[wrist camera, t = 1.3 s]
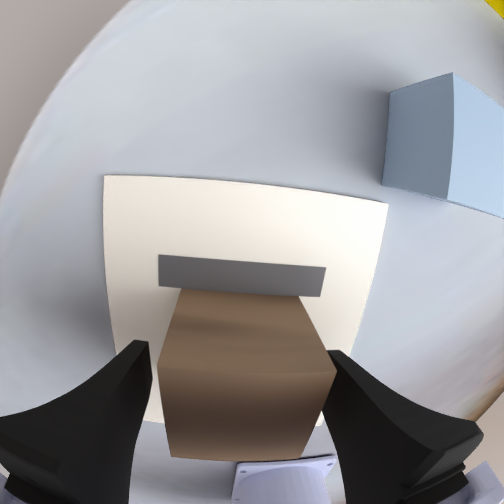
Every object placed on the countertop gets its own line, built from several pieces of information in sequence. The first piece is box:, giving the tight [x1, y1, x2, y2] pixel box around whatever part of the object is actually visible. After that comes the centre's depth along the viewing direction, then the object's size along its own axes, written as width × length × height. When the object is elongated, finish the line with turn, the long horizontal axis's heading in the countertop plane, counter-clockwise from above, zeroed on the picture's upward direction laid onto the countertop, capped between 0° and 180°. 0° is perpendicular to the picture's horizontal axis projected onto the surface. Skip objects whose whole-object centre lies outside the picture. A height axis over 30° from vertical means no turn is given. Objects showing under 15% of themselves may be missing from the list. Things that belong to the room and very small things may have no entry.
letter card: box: [103, 175, 388, 426], centre depth 13 cm, size 14×12×1 cm
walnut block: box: [157, 288, 337, 461], centre depth 10 cm, size 5×5×5 cm
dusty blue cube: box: [382, 72, 504, 219], centre depth 9 cm, size 4×4×4 cm
